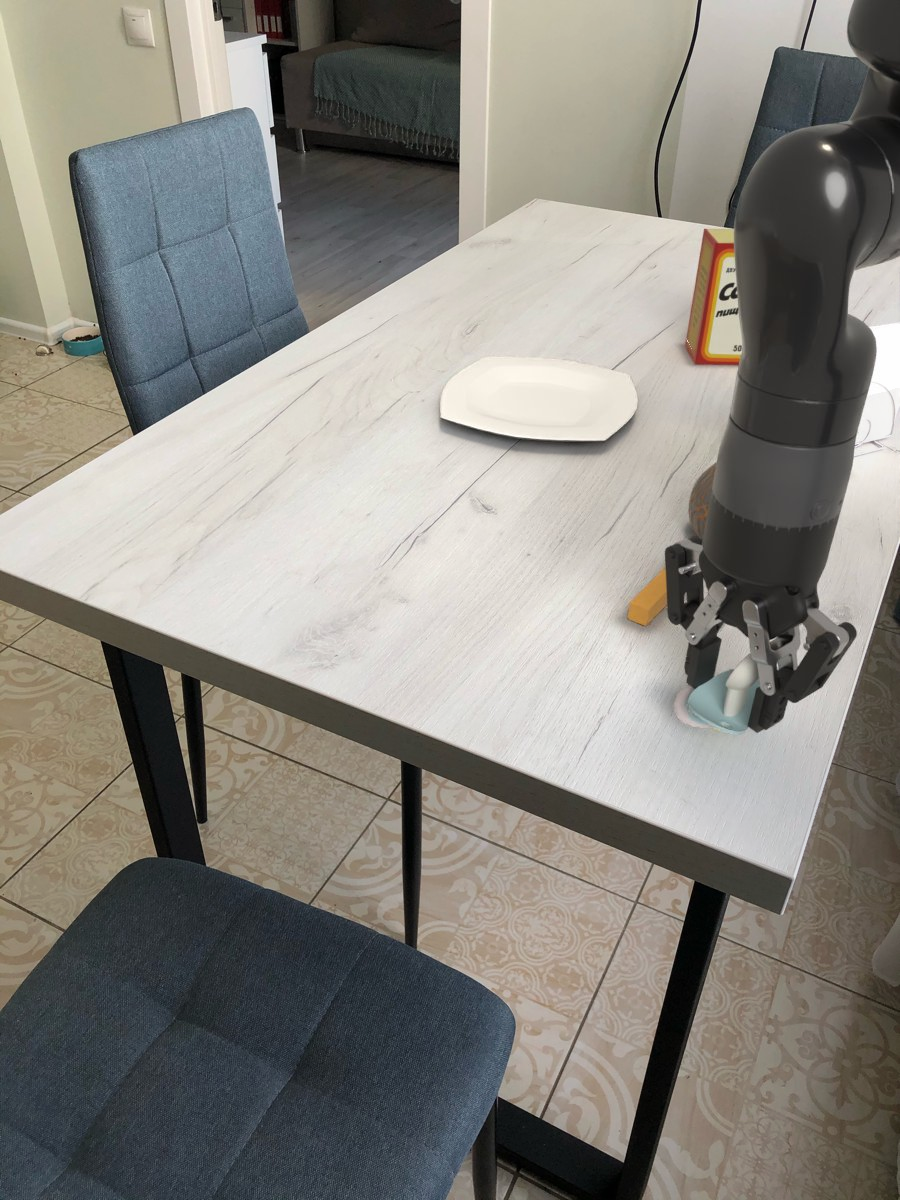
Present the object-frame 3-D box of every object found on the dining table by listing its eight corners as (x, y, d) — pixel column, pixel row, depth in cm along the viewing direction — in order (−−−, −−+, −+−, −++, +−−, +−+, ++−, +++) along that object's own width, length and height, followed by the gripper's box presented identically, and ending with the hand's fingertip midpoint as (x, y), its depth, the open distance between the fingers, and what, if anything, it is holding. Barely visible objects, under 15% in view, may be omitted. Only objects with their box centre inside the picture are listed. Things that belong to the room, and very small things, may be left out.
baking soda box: (694, 364, 125) (715, 239, 115) (684, 346, 130) (704, 225, 120) (765, 365, 125) (792, 240, 115) (753, 346, 130) (778, 226, 120)
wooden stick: (688, 556, 87) (691, 540, 86) (706, 563, 86) (710, 547, 85) (626, 618, 79) (629, 601, 78) (645, 626, 79) (648, 609, 78)
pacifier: (653, 716, 67) (725, 759, 63) (663, 646, 64) (740, 688, 60) (713, 671, 71) (784, 709, 67) (725, 604, 68) (801, 640, 64)
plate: (619, 467, 101) (621, 450, 100) (416, 437, 107) (416, 421, 105) (647, 384, 119) (649, 369, 118) (472, 362, 124) (472, 348, 123)
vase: (763, 528, 91) (782, 447, 86) (749, 564, 86) (769, 480, 81) (692, 512, 94) (707, 432, 89) (675, 546, 89) (690, 463, 83)
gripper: (922, 521, 53) (849, 739, 63) (726, 432, 63) (690, 634, 73) (840, 564, 50) (776, 788, 60) (646, 462, 59) (619, 670, 69)
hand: (729, 702), depth 66 cm, fingers closed on pacifier, 5 cm apart
